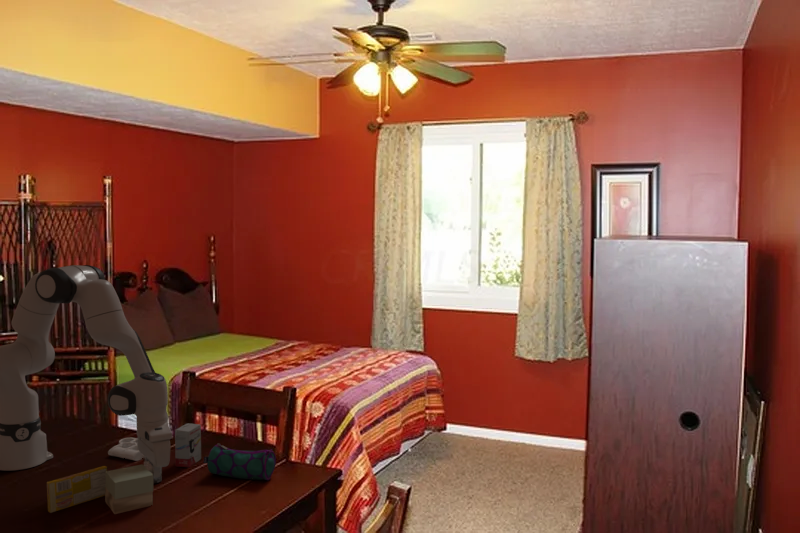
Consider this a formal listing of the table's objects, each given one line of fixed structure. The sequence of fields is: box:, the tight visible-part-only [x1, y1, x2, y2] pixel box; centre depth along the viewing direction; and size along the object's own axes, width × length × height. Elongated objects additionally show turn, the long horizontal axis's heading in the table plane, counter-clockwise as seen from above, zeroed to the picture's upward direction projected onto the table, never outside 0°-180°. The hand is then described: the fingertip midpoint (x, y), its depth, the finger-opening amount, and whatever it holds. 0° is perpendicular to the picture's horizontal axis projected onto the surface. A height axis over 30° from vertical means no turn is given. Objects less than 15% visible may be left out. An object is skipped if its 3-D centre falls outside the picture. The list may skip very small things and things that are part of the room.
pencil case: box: [202, 443, 277, 481], centre depth 211 cm, size 21×9×10 cm, turn 74°
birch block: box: [104, 487, 154, 515], centre depth 190 cm, size 10×10×4 cm
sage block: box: [105, 463, 154, 499], centre depth 190 cm, size 10×10×4 cm
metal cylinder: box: [143, 459, 163, 485], centre depth 206 cm, size 5×5×6 cm
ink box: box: [174, 422, 202, 468], centre depth 222 cm, size 9×5×12 cm, turn 168°
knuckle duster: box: [107, 437, 145, 462], centre depth 231 cm, size 3×18×15 cm
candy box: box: [46, 465, 108, 514], centre depth 190 cm, size 16×2×8 cm, turn 141°
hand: (152, 473), depth 206 cm, fingers closed on metal cylinder, 5 cm apart
